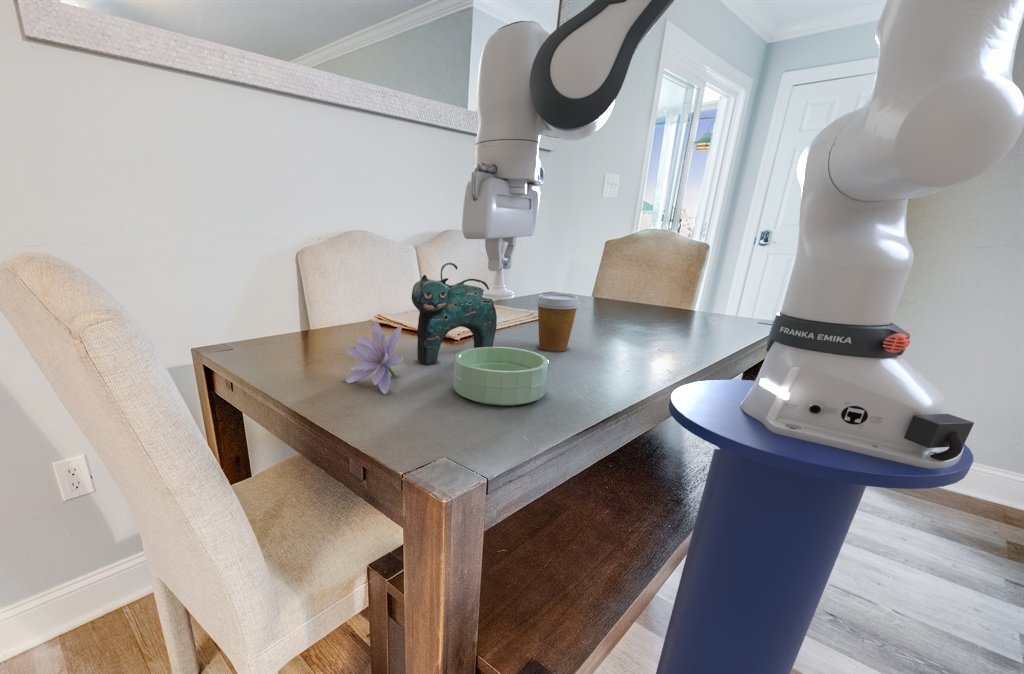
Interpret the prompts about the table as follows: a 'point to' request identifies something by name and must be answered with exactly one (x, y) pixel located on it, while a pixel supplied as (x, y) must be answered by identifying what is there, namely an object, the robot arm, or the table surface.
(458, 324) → the ceramic cat
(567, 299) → the disposable coffee cup
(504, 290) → the chess piece
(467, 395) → the mint green pet bowl
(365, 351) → the water lily
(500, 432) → the table surface
